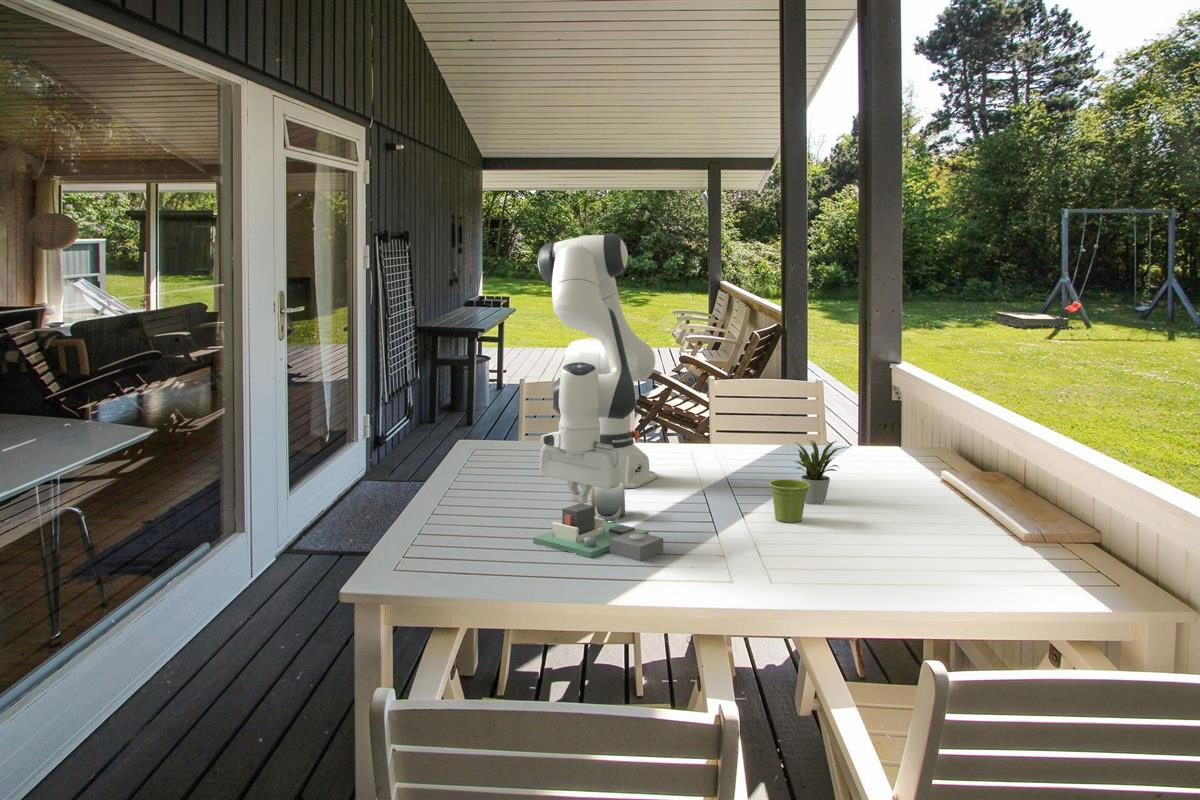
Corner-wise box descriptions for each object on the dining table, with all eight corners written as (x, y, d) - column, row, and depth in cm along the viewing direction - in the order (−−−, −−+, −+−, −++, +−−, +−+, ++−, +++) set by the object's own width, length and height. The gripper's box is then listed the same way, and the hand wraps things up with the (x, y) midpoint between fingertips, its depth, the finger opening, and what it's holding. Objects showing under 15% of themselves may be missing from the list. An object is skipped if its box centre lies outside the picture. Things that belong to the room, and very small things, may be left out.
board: (592, 523, 221) (592, 505, 221) (648, 536, 211) (648, 517, 211) (533, 542, 206) (533, 523, 205) (590, 557, 196) (590, 538, 195)
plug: (580, 529, 212) (580, 503, 211) (594, 533, 209) (594, 506, 208) (560, 536, 207) (560, 509, 206) (574, 540, 204) (574, 512, 203)
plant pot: (763, 514, 229) (764, 479, 228) (802, 513, 230) (803, 478, 229) (773, 525, 220) (775, 488, 219) (814, 524, 221) (815, 488, 219)
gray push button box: (632, 544, 205) (632, 528, 205) (663, 551, 200) (663, 535, 200) (609, 553, 199) (609, 536, 199) (640, 561, 194) (640, 543, 194)
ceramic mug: (591, 510, 232) (591, 479, 231) (624, 510, 232) (625, 479, 231) (590, 523, 222) (590, 491, 221) (626, 523, 222) (626, 491, 221)
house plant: (851, 497, 246) (854, 434, 243) (846, 510, 233) (849, 444, 230) (794, 492, 250) (797, 431, 248) (787, 505, 237) (789, 440, 235)
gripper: (627, 443, 201) (626, 507, 203) (554, 431, 214) (554, 491, 216) (608, 448, 196) (608, 513, 198) (535, 435, 209) (535, 497, 211)
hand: (579, 502), depth 207 cm, fingers closed
